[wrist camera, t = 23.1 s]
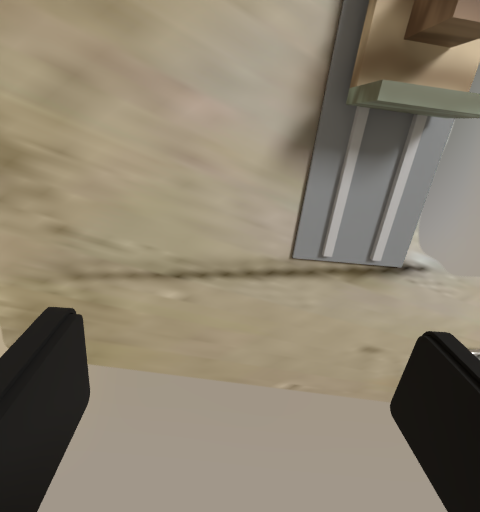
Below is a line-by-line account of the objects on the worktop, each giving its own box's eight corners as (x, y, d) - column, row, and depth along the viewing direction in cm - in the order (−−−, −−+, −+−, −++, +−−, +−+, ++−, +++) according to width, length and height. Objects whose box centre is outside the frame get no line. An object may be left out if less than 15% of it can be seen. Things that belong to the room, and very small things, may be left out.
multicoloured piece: (438, 118, 36) (501, 117, 28) (341, 105, 35) (377, 100, 27) (506, -82, 30) (615, -160, 21) (387, -107, 28) (455, -199, 20)
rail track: (399, 265, 45) (404, 269, 44) (292, 256, 43) (294, 260, 42) (545, -147, 28) (559, -159, 27) (380, -186, 27) (387, -200, 26)
